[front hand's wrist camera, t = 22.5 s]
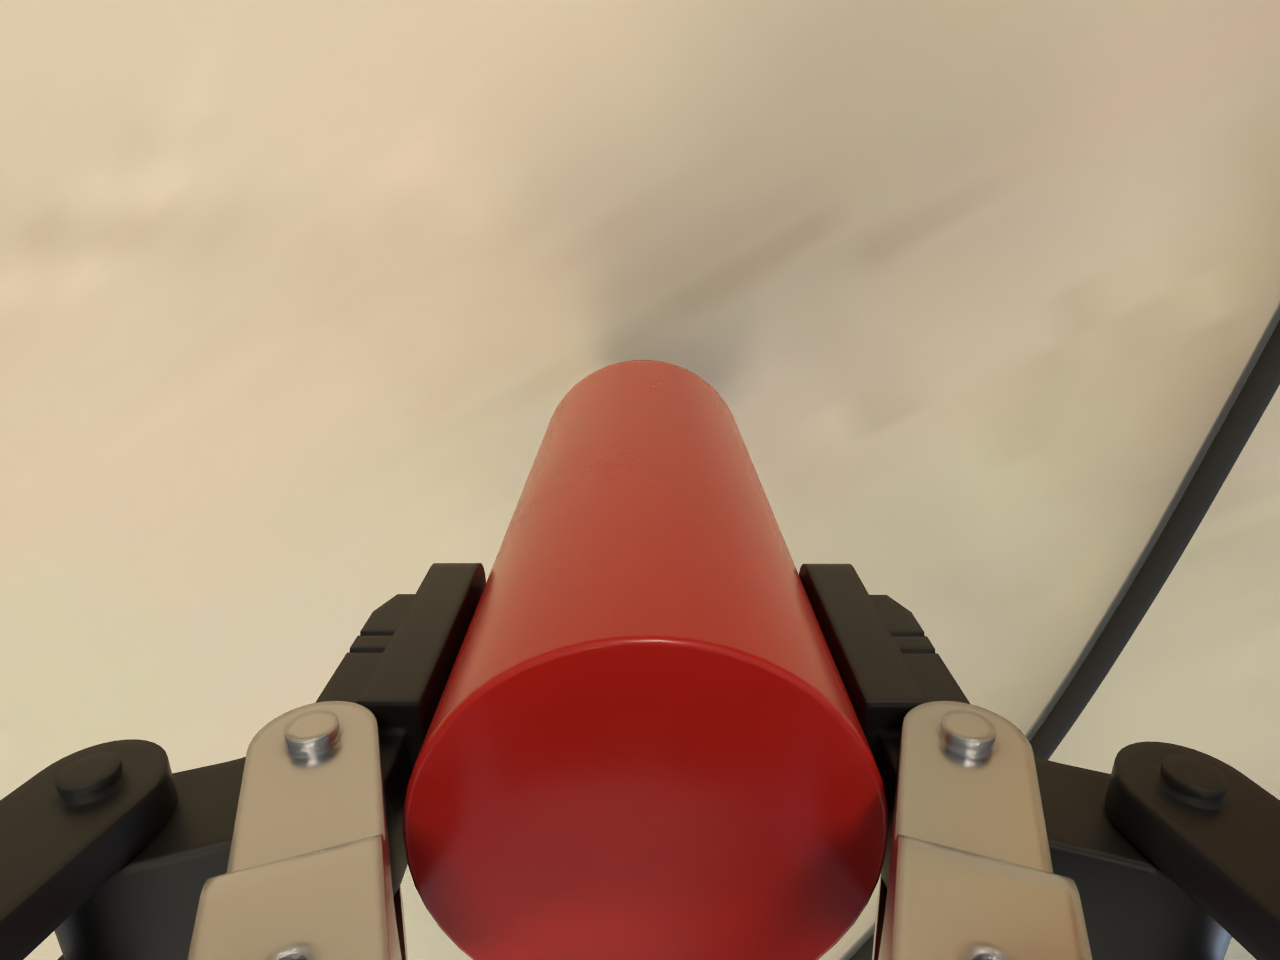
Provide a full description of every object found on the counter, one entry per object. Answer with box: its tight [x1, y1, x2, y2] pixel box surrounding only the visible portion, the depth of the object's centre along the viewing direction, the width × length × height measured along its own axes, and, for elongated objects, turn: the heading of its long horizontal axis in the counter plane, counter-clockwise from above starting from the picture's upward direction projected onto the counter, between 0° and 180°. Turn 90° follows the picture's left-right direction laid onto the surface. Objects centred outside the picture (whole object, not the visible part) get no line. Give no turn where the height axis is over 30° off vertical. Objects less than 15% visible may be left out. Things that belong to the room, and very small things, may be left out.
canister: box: [403, 360, 889, 960], centre depth 13 cm, size 5×5×12 cm
